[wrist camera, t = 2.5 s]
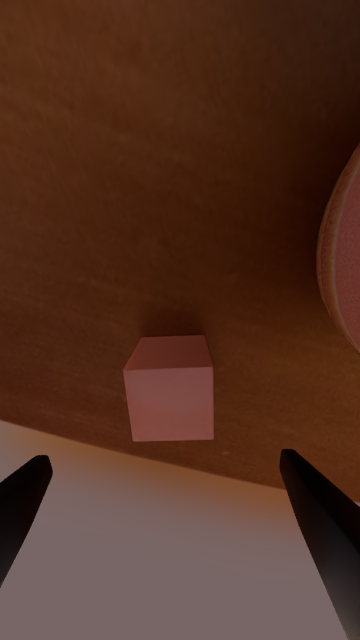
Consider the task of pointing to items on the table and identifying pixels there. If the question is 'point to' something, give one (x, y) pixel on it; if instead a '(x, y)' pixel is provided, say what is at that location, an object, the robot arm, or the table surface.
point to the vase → (342, 253)
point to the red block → (170, 389)
